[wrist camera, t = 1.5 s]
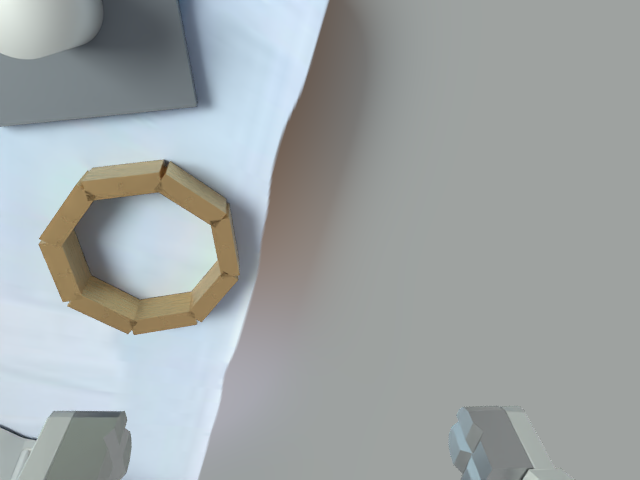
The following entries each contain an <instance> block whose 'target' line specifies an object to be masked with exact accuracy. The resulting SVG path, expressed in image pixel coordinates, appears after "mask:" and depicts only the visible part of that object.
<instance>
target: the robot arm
mask: <svg viewBox="0 0 640 480" xmlns="http://www.w3.org/2000/svg"><path fill="white" fill-rule="evenodd" d="M457 418H458V421H459V422H457V423H456V424H455V425H453V426H452V427H451V430H450V433H449V450H450V455H451V458H452V461H453V464H454V465H455V466H456V467H457V468H458V469H459V470H460V471H461V472H462V473H463V474H462V477H461V480H575V479H573V478H572V477H571V476H570V475H569V474H567V473H566V472H565V471H564V470H563V469H561V468H555V466H554V464H553V463H552V461H551V459H550V457H549V455H548V453H547V452H546V450H545V448H544V446H543V444H542V442H541V441H540V439H539V437H538V435H537V433H536V431H535V429H534V428H533V426H532V424H531V422H530V420H529V419H528V417H527V415H526V413H525V411H524V410H523V409H522V408H521V407H519V406H502V407H499V406H480V407H479V406H478V407H462V408H461V409H459V411H458V413H457ZM126 422H127V417H126V414H125V411H53V413H52V414H51V415H50V416H49V417H48V418H47V420H46V422H45V424H44V426H43V428H42V430H41V432H40V434H39V436H38V438H37V440H31V439H25V438H22V437H20V436H17V435H15V434H13V433H11V432H9V431H7V430H5V429H2V428H0V480H120V479H121V478H122V477H123V476H124V475H125V474H126V472H127V468H128V465H129V461H130V454H131V434H130V431H128V430H127V429H125V426H126Z"/></svg>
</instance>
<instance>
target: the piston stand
mask: <svg viewBox="0 0 640 480" xmlns="http://www.w3.org/2000/svg"><path fill="white" fill-rule="evenodd" d="M197 103H198V101H197V96H196V91H195V86H194V80H193V75H192V70H191V65H190V59H189V54H188V49H187V44H186V38H185V33H184V28H183V23H182V17H181V12H180V7H179V2H178V0H0V127H2V126H12V125H22V124H31V123H41V122H51V121H61V120H71V119H81V118H91V117H100V116H110V115H120V114H130V113H140V112H150V111H160V110H169V109H179V108H189V107H197Z"/></svg>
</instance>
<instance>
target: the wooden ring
mask: <svg viewBox="0 0 640 480" xmlns="http://www.w3.org/2000/svg"><path fill="white" fill-rule="evenodd" d="M157 192H159V193H161V194H162V195H164V196H165V197H167V198H168V199H170V200H172V201H173V202H175V203H176V204H178V205H180V206H181V207H183V208H184V209H186V210H187V211H189V212H191V213H192V214H194V215H195V216H197V217H199V218H200V219H202V220H203V221H205V222H207V223H208V224H210V225H211V228H212V233H213V238H214V243H215V248H216V253H217V258H218V261H217V262H216V263H215V264H214V265H213V267H212V268H211V269H210V270H209V271H208V272H207V274H206V275H205V276H204V277H203V278H202V280H201V281H200V282H199V283H198V284H197V286H196V287H195V288H194V289H193V290H192V292H186V293H180V294H174V295H167V296H161V297H154V298H148V299H141V300H139V299H137V298H135V297H133V296H131V295H129V294H127V293H125V292H123V291H121V290H119V289H117V288H115V287H113V286H111V285H109V284H108V283H106V282H104V281H102V280H100V279H98V278H96V277H94V276H92V275H91V274H90V271H89V268H88V266H87V263H86V260H85V257H84V255H83V252H82V249H81V247H80V244H79V241H78V239H77V236H76V233H75V230H74V228H75V226H76V225H77V223H78V222H79V220H80V219H81V218H82V216H83V215H84V213H85V212H86V211H87V209H88V208H89V206H90V205H91V203H92V202H93V201H94V200H101V199H109V198H117V197H125V196H133V195H141V194H149V193H157ZM39 239H40V240H41V242H40V243H39V246H40V249H41V251H42V254H43V256H44V258H45V261H46V263H47V265H48V268H49V270H50V273H51V275H52V277H53V280H54V282H55V284H56V287H57V289H58V292H59V294H60V296H61V299H62V301H63V302H67V301H69V303H68V305H67V306H68V307H70V308H72V309H75V310H77V311H79V312H81V313H83V314H85V315H88V316H90V317H92V318H94V319H96V320H98V321H101V322H103V323H105V324H107V325H109V326H111V327H114V328H116V329H118V330H120V331H122V332H125V333H127V334H129V333H130V331H131V330H132V331H133V334H134V335H137V334H143V333H149V332H155V331H161V330H167V329H173V328H179V327H185V326H191V325H197V320H198V321H200V322H202V321H203V320H204V319H205V318H206V316H207V315H208V314H209V313H210V312H211V311H212V309H213V308H214V307H215V306H216V305H217V304H218V303H219V301H220V300H221V299H222V298H223V297H224V296H225V294H226V293H227V292H228V291H229V290H230V289H231V288H232V286H233V285H234V284H235V283H236V282H237V281H238V275H240V272H239V256H238V250H237V245H236V239H235V233H234V228H233V222H232V216H231V211H230V205H229V203H227V204H226V198H224V197H223V196H221V195H220V194H218V193H217V192H215V191H214V190H212V189H211V188H209V187H208V186H206V185H205V184H203V183H202V182H200V181H199V180H197V179H196V178H194V177H193V176H192V175H190V174H189V173H187V172H186V171H184V170H183V169H181V168H180V167H178V166H177V165H175V164H174V163H172V162H171V161H170V162H169V163H168V165H167V166H165V162H164V160H156V161H147V162H138V163H130V164H121V165H113V166H104V167H95V168H92V169H91V170H90V172H89V171H87V172H86V173H85V174H84V176H83V177H82V178H81V179H80V180H79V182H78V183H77V184H76V186H75V187H74V188H73V190H72V191H71V193H70V194H69V196H68V197H67V199H66V200H65V202H64V203H63V204H62V206H61V207H60V209H59V210H58V212H57V213H56V215H55V216H54V218H53V219H52V221H51V222H50V223H49V225H48V226H47V228H46V229H45V231H44V232H43V234H42V235H41V237H40V238H39Z"/></svg>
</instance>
